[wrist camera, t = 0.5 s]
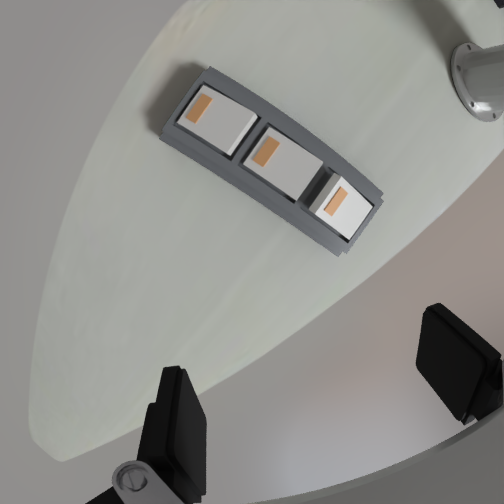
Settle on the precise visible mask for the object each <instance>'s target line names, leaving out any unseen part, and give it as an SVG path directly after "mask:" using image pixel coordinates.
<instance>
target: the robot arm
mask: <svg viewBox="0 0 504 504" xmlns="http://www.w3.org/2000/svg"><path fill="white" fill-rule="evenodd" d="M451 71H452V77H453V81H454V85H455V87H456V90H457V93H458V95H459V97H460V99H461V100H462V102H463V104H464V105H465V107H466V108H467V109H468V110H469V112H470V113H471V114H472V115H473V116H475V117H476V118H478V119H479V120H482V121H485V122H492V121H496V120H497V119H499V117H500V116H501V115H502V113H503V111H504V44H503V45H498V46H494V47H490V48H486V49H482V48H481V47H479V46H478V45H476V44H473V43H464V44H460V45H459V46H457V47H456V48H455V50H454V52H453V54H452V59H451ZM500 358H501V354H500V353H499V352H498V351H497V350H496V349H495V348H493V347H492V346H491V345H490V344H489V343H488V342H487V341H485V340H484V339H483V338H482V337H481V336H480V335H479V334H477V333H476V332H475V331H474V330H473V329H471V328H470V327H469V326H468V325H467V324H465V323H464V322H463V321H462V320H461V319H459V318H458V317H457V316H456V315H455V314H453V313H452V312H451V311H450V310H449V309H447V308H446V307H445V306H444V305H442V304H441V303H436V304H434V305H431V306H428V307H427V308H426V310H425V312H424V313H423V318H422V325H421V333H420V339H419V346H418V352H417V358H416V366H417V369H418V371H419V372H420V373H421V374H422V376H423V377H424V378H425V379H426V381H427V382H428V383H429V384H430V386H431V387H432V388H433V389H434V391H435V392H436V393H437V395H438V396H439V397H440V399H441V400H442V401H443V402H444V404H445V405H446V406H447V408H448V409H449V410H450V411H451V413H452V414H453V416H454V417H455V418H456V419H457V420H458V421H461V422H462V423H463V425H466V424H468V423H469V422H471V421H473V420H474V419H475V418H476V419H477V420H478V422H476V423H475V424H473V425H472V426H470V427H468V428H466V429H465V430H463V431H461V432H460V433H458V434H456V435H454V436H453V437H451V438H449V439H447V440H445V441H443V442H441V443H439V444H438V445H436V446H434V447H432V448H430V449H428V450H426V451H423V452H422V453H419V454H417V455H415V456H413V457H411V458H408V459H406V460H404V461H401V462H399V463H397V464H394V465H392V466H389V467H387V468H384V469H382V470H379V471H376V472H374V473H371V474H368V475H365V476H363V477H360V478H357V479H354V480H351V481H347V482H344V483H341V484H337V485H334V486H331V487H327V488H323V489H320V490H316V491H311V492H307V493H303V494H299V495H295V496H289V497H284V498H279V499H273V500H267V501H261V502H255V503H248V504H504V360H503V361H502V360H501V359H500ZM206 426H207V423H206V417H205V414H204V412H203V409H202V407H201V405H200V403H199V400H198V398H197V395H196V393H195V391H194V388H193V386H192V384H191V381H190V379H189V376H188V374H187V371H186V369H181V368H180V366H171V367H164V368H163V371H162V375H161V380H160V384H159V389H158V393H157V398H156V403H150V404H149V405H148V408H147V412H146V417H145V421H144V426H143V430H142V435H141V440H140V445H139V450H138V455H137V460H136V461H128V462H125V463H123V464H121V465H120V466H119V467H117V469H116V470H115V471H114V473H113V476H112V484H113V486H112V487H111V488H110V489H108V490H107V491H105V492H103V493H102V494H100V495H99V496H97V497H95V498H94V499H92V500H91V501H89V502H87V503H86V504H193V503H201V495H206Z"/></svg>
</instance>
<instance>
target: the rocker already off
mask: <svg viewBox="0 0 504 504" xmlns="http://www.w3.org/2000/svg"><path fill="white" fill-rule="evenodd" d="M371 209H372V206H371V205H370V204H369V203H368V202H367V201H366V200H365V199H364V198H363V197H362V196H361V195H360V194H359V193H358V192H357V191H356V190H355V189H354V188H353V187H352V186H351V185H350V184H349V183H348V182H347V181H346V180H345V179H344V178H343V177H342V176H340V175H338V174H336V173H334V174H333V175H332V177H331V178H330V179H329V181H328V182H327V184H326V185H325V187H324V188H323V189H322V191H321V192H320V194H319V195H318V196H317V198H316V199H315V201H314V202H313V204H312V205H311V206H310V208H309V209H308V210H310V211H311V212H313V213H314V214H315V215H317V216H318V217H319V218H321V219H322V220H323V221H325V222H326V223H327V224H329V225H330V226H331V227H333V228H334V229H335V230H337V231H338V232H339V233H341V234H342V235H343V236H345V237H346V238H347V239H349V240H350V238H351V237H352V236H353V234H354V233H355V231H356V230H357V229H358V227H359V226H360V224H361V223H362V222H363V220H364V219H365V217H366V216H367V214H368V213H369V212H370V210H371Z"/></svg>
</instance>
